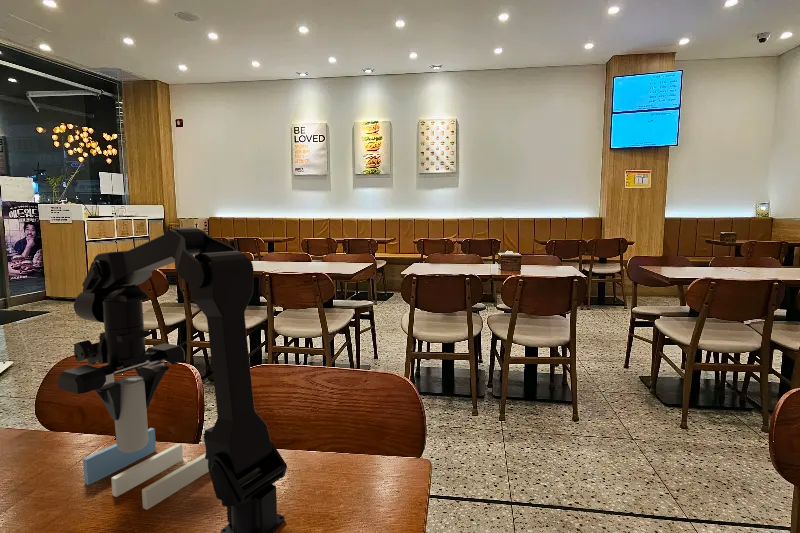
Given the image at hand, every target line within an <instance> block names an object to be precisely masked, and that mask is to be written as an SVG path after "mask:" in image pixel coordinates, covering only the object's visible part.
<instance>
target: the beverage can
mask: <svg viewBox="0 0 800 533" xmlns="http://www.w3.org/2000/svg"><path fill="white" fill-rule="evenodd" d="M114 381H115V382H116V383H121V396H120V415H119V420H117V421H116V420H114V427H115V428H114V430H115V438H116V439H115V440H116V443H117V449H118V450H119V451H120V452H122V453H131V452H135V451H138V450H141V449H142V448H144V447H145V446H146V445H147V443H148V441H149V438H148V429H149V428H148V426H149V425H148V412H147V411H148V410H147V409H148V408H146V395H145V382H144V381H143V377H139V376H138V375H137V376H136V375H135V376H134V375H133V376H127V377H123V378H119V379H117V380H114Z"/></svg>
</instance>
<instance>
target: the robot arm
mask: <svg viewBox="0 0 800 533" xmlns="http://www.w3.org/2000/svg"><path fill="white" fill-rule="evenodd" d="M194 255H195V256H194ZM172 263H174V270H175V273H176V274H178V275H179V276H180V277H181V278H182V279H183V280H184V281H185V282H186V283H187V284H188V285H189V290H190V294H191V298H192V301H193V303H195V305H196V306H197V307H198V308H199V309H200V311H201V312H202V313H203V314H204V315H205V317H206V322H207V330H208V332H207V333H208V341H209V350H210V358H211V368H212V376H213V377H212V378H213V384H214V386H213V387H214V393H215V394H214V395H215V404H216V414H217V415H216V416H217V418H216V420H215V423H214V425H213V426H212V427H209V428H207V429H205V430H204V434H203V441H204V445H205V453H206V455H205V459H206V460H207V459H208V469H209V472H208V473H209V476H210V479H211V483H212V487H213V490H214V494H215V497H216V499H217V500H220V501H221V506H222V507H225V508H226V514H227V523H228V524H227V525H225V526H224V527H223V528H222V529H220V533H273V532H274V531H276V529H277V528H278V527H279V526H281V525H282V524H283V523H284V522H285V519H286V518H285V517H286V516H284V515H282V514H279V513H278V505H277V504H278V503H277V502H278V501H277V500H278V499H277V497H278V496H277V486H276V485H274V484H275V483H276V482H278V481H279V480H280V479H283V478H285V476H286V472H287V469H288V464H287V462H285V460H284V458H283V457H282V455H281V453H280V452H279V450H278V449H277V447H276V446H275V444H274V443H273V441H272V440H271V438H270V432H269V427H268V424H267V423H266V421H264V419H263V418H262V417H261V416H260V415H259V414H258V412H257V411H256V408H255V402H254V393H253V383H252V372H251V364H250V363H251V362H250V355H249V346H248V345H249V344H248V335H247V325H246V318H245V317H246V316H245V311H246V309H247V307H248V305H249V303H250V300H251V298H252V296H253V293H254V272H255V271H254V270H255V269H254V264H253V262H252V260H251V258H249V257H248V256H247V255H246V254H245V253H243V251H241V250H240V251H239V250H237V248H235V247H234V246H233V245H230V244H228V243H226V242H223V241H221V240H219V239H217V238H214V237H212V236H210V235H209V234H208V233H207V232H206V231H205V230H203V229H200V228H199V227H198V228H197V227H180V228H179V227H177V228H176V227H175V228H171V229H170V230H167V231H166V232H165V233H164V234H162V235H160V236H157V237H155V238H153V239H151V240H149V241H146V242H143V243H142V244H139V245H137V246H135V247H133V248H131V249H128V250H121V251H120V250H119V251H113V252H112V251H109V252H102V253H97V254H96V255H95V257H94V258H93V261H92V262H91V264H90V267H89V270H88V273H87V275H86V277H85V278H84V281H83V282H82V287H83V288H82V292H81V291H80V293H79V294H77V296H76V298H75V300H74V303H73V310H74V312H75V314H76V316H77V317H79V318H80V319H82V320H85V321H91V322H97V323H101V324H103V326H104V331H102V332H100V333H99V336H98V338H99V341H98V342H95V343H92V342H91V341H90V340H89V339H88V340H83V341H78V342H76V343H73V355H74V358H75V361H76V362H78V363H80V362H85V361H87V363H88V365H87V364H85V365H80V366H76V367H72V368H70V369H66V370H63V371H61V373H60V375H59V376H58V378H57V381H58V382H57V383H58V384H57V385H58V390H61V391H65V392H69V393H73V394H78V395H81V394H86V393H89V392H91V391H94V392H95V393H96V394H97V396H98V398H100V399H101V401H102V403H103V404H104V406H105V408H106V410H107V412H108V414H109V415H110V418H111V419H112V420H113V421H115V420H116V421H117V420H119V415H120V396H121V383H116V382H115V381H116V380H115V376H117V375H119V374H123V373H126V372H129V371H132V370H135V372H136V373H137V376H139V377H143V381H144V382H145V395H146V409H148V408H149V407H150V406H149V405H150V404H151V402H152V400H153V398H154V394H155V393H156V391H157V388H158V386H159V384H160V382H161V381H162V379H163V377H164V375H165V374H166V372H167V371H169V370H170V366H167V365H165V362H166V363H168V364H169V365H175V364H179V363H181V362H185V360H186V357H185V350H184V348H183V347H182V346H181V345H179V344H171V343H164V342H163V343H161V344H157V345H154V346H153V345H152V346H149V347H147V348H146V341H145V340H146V338H145V337H149V336H150V329H145V324H144V311H143V301H145V300H148V299H149V295H148V294H147V293H146V291H143V290H142V289H141V288H140V286H139V285H141V284H143V283H145V282H146V281H148V279H150V278H151V277H152V276H153V274H152V273H153V272H154V271H155V270H158V269H160V268H163V267H166V266H169V265H170V264H172ZM96 363H98V364H101V365H104V364H106V365H104V366H100V367H97V366H92V365H95V364H96Z"/></svg>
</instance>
